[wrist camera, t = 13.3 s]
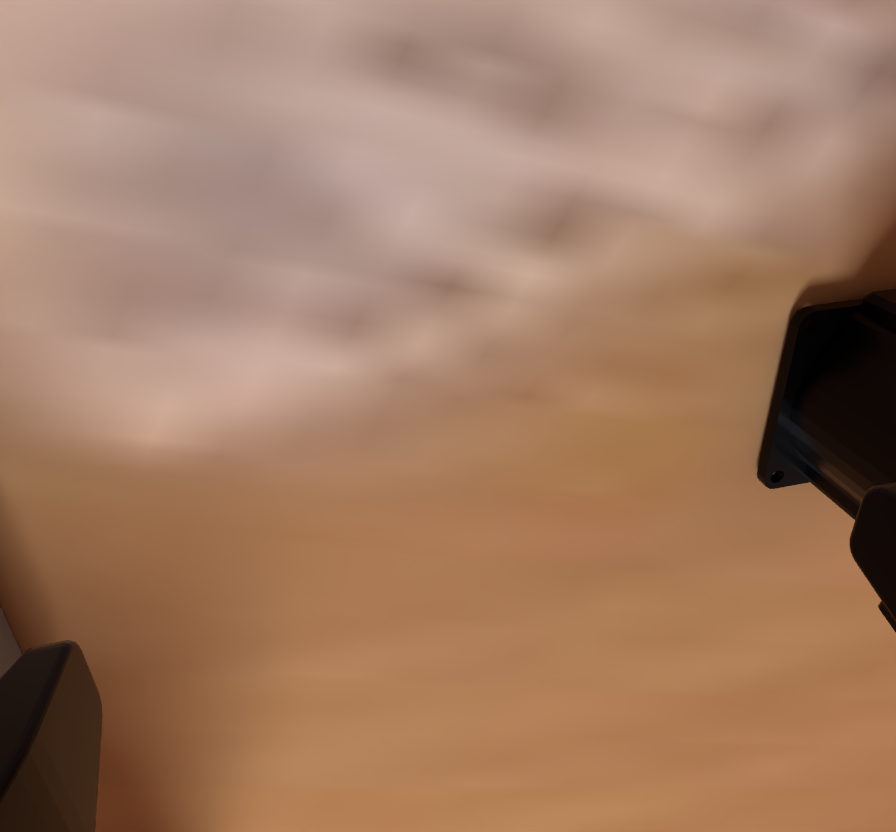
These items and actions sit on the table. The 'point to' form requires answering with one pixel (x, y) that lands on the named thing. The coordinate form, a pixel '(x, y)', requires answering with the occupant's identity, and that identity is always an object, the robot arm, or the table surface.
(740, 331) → the table surface
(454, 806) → the table surface
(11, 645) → the box
